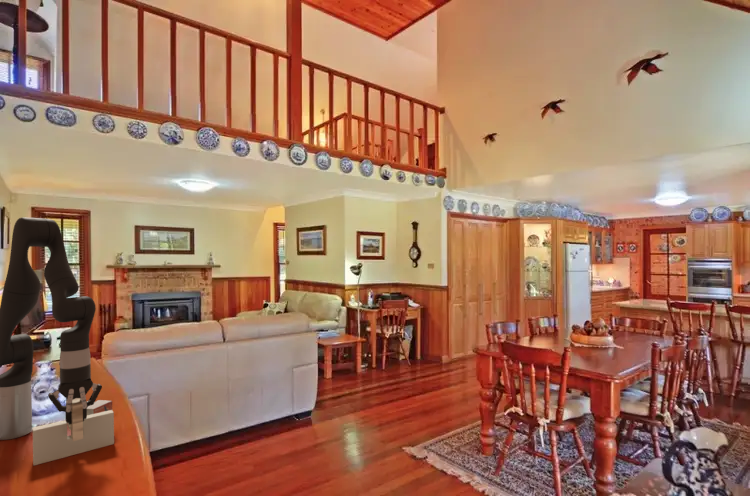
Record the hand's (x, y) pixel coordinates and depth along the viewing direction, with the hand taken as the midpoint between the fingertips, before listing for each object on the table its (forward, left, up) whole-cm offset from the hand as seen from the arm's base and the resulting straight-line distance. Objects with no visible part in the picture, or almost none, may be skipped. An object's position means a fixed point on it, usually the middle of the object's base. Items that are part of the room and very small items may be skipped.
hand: (76, 421), depth 127 cm
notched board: (-3, +3, -11) cm, 11 cm away
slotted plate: (-3, +3, -4) cm, 6 cm away
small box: (-5, +14, -11) cm, 18 cm away
